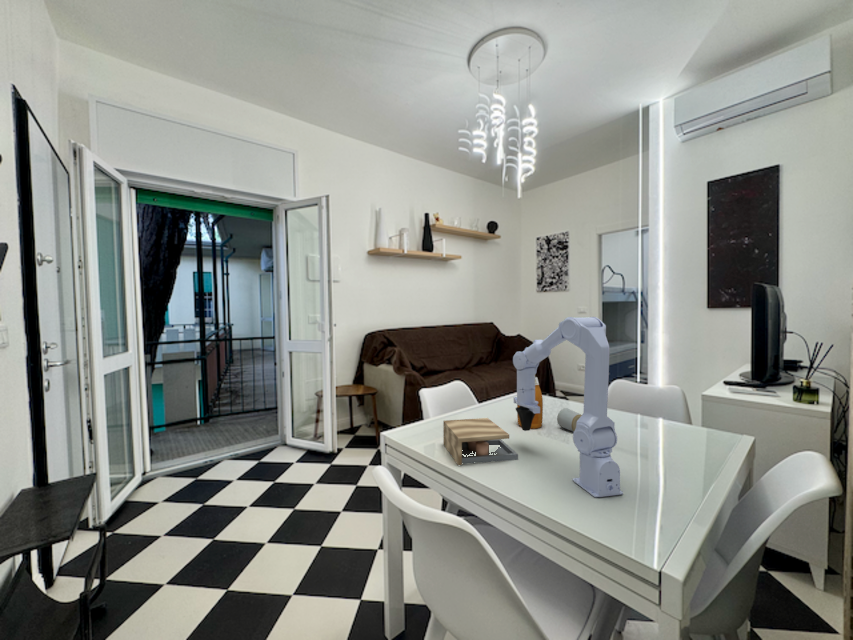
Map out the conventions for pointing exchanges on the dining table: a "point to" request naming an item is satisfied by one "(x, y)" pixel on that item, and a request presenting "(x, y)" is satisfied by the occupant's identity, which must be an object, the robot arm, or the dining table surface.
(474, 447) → the peg
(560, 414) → the ceramic mug
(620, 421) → the dining table surface
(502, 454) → the tray
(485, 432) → the wooden l-shaped bracket
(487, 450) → the pink round cylinder
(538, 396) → the wine bottle
